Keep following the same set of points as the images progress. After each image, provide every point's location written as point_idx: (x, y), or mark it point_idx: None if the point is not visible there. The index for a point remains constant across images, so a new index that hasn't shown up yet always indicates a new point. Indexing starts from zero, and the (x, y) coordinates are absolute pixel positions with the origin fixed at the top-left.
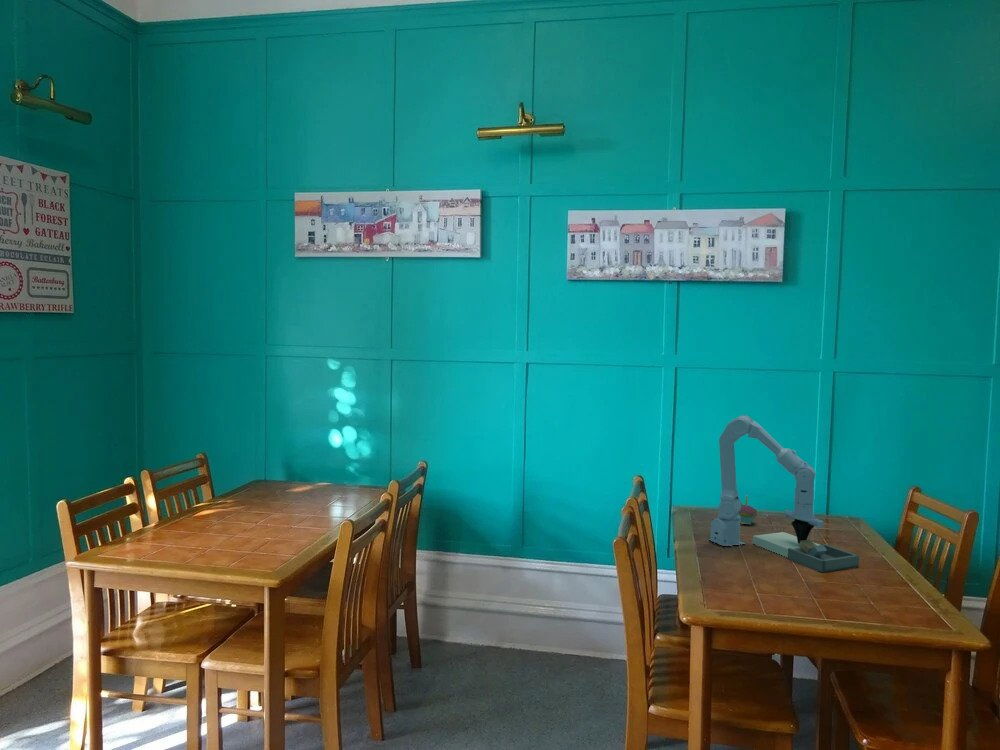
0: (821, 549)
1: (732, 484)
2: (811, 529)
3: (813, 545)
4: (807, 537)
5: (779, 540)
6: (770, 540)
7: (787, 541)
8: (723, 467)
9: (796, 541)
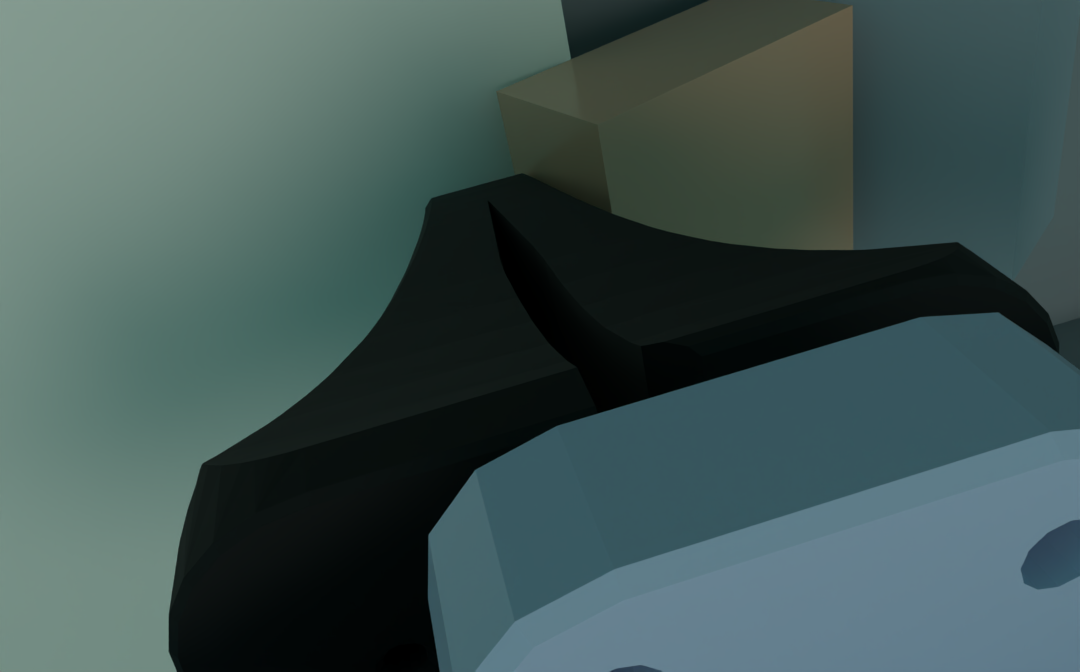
0: (1059, 105)
1: None
2: (800, 259)
3: (793, 127)
4: (598, 212)
5: (49, 511)
6: (75, 660)
7: (118, 380)
8: None
9: (102, 164)
